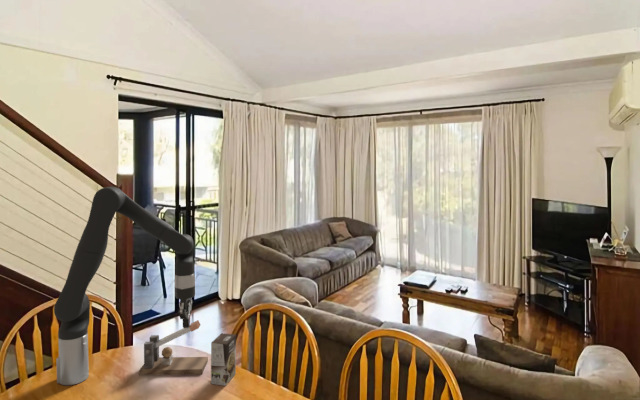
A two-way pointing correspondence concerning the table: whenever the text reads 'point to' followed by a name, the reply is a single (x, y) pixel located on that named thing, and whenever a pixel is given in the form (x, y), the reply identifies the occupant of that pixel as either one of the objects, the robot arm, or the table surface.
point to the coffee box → (223, 359)
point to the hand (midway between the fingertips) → (186, 327)
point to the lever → (177, 334)
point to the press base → (177, 366)
